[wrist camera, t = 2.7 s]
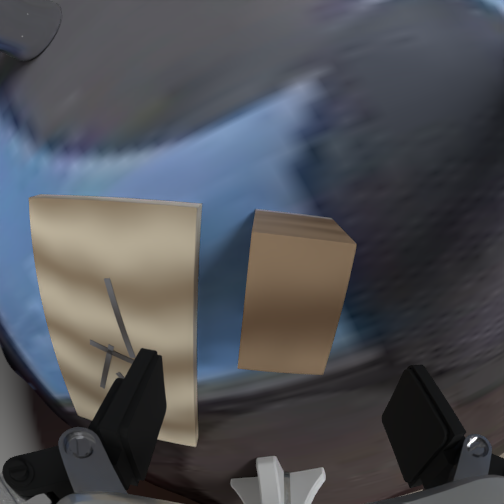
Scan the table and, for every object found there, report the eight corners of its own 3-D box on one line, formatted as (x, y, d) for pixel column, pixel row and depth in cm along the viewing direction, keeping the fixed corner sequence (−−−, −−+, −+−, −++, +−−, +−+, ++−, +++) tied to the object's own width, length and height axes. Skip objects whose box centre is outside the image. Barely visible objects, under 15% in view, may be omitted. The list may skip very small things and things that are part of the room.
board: (40, 194, 19) (27, 198, 18) (202, 203, 19) (196, 207, 18) (83, 406, 27) (77, 415, 26) (198, 436, 27) (195, 447, 25)
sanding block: (255, 208, 19) (251, 231, 14) (330, 217, 19) (356, 244, 14) (244, 316, 22) (237, 368, 16) (310, 322, 22) (323, 374, 16)
